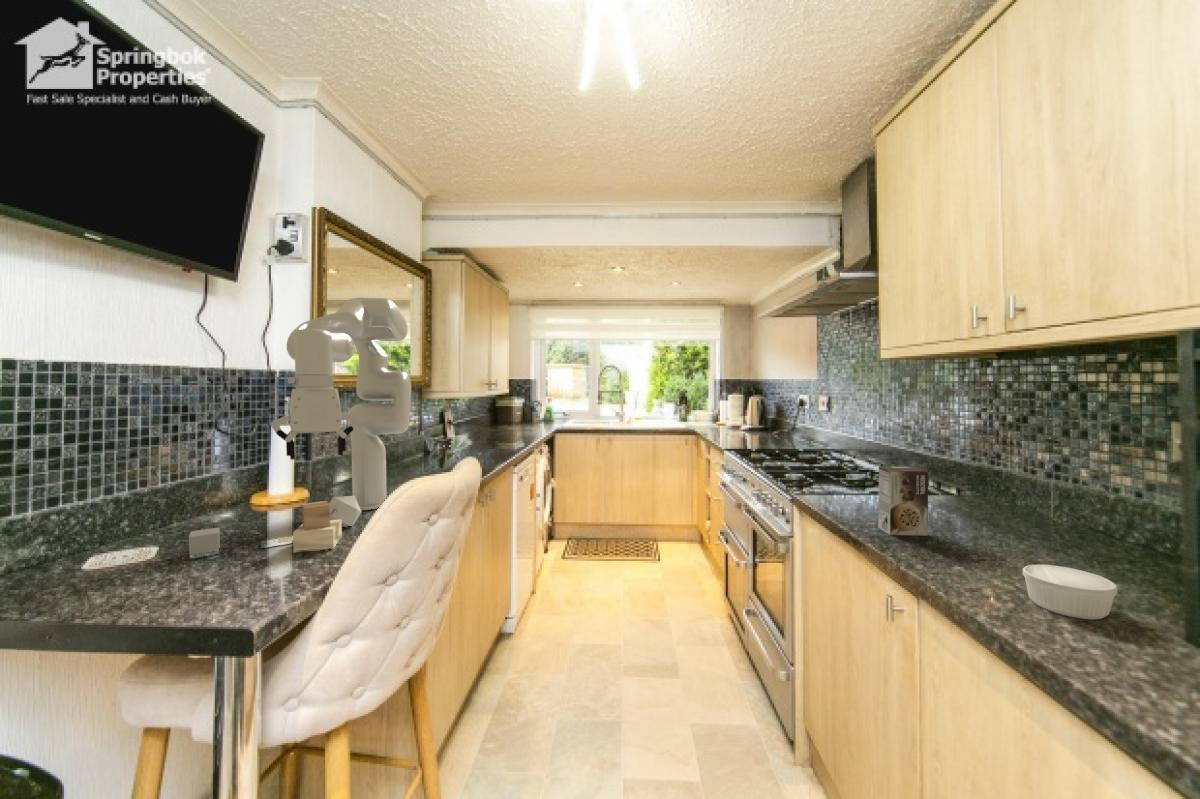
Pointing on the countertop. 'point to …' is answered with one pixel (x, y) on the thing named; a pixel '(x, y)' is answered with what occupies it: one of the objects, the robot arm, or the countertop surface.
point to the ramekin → (1069, 591)
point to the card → (285, 539)
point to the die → (344, 510)
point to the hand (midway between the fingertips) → (316, 456)
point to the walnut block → (316, 515)
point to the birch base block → (317, 536)
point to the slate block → (204, 541)
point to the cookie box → (903, 500)
